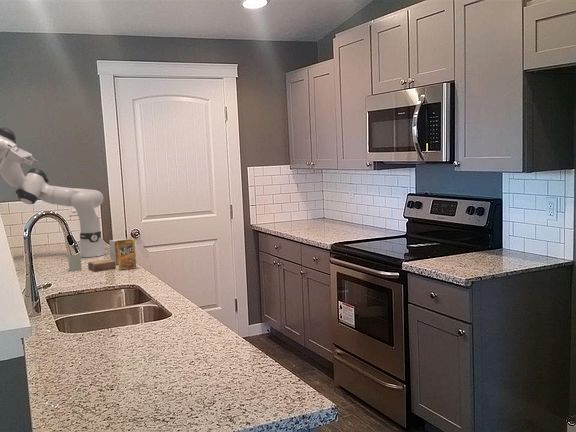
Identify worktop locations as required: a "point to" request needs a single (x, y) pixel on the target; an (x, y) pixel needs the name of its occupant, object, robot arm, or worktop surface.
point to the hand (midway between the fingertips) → (34, 163)
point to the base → (101, 265)
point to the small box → (114, 251)
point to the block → (74, 262)
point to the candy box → (126, 254)
